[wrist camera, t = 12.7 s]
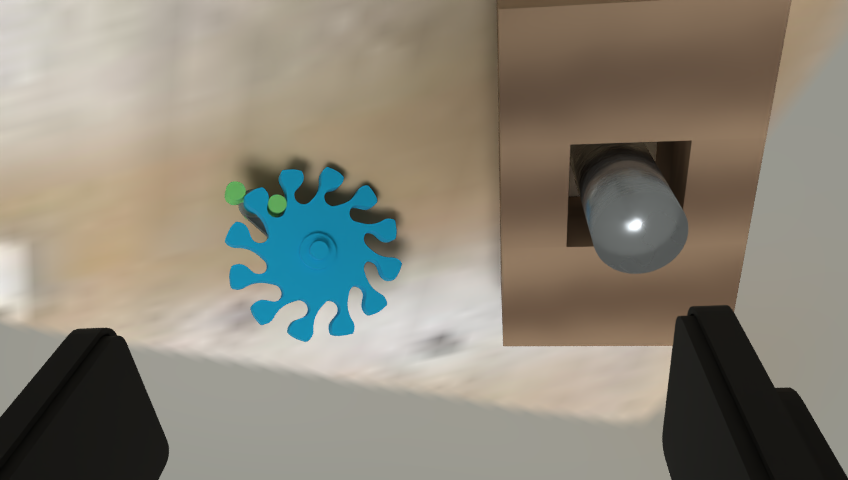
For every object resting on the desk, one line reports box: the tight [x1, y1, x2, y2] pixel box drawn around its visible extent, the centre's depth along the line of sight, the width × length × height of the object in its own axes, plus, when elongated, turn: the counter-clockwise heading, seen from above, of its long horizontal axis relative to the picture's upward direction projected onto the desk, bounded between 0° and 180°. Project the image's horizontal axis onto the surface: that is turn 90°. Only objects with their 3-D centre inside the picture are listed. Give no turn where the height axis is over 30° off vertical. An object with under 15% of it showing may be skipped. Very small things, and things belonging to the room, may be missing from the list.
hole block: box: [497, 0, 791, 346], centre depth 35 cm, size 18×12×6 cm, turn 4°
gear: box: [225, 167, 402, 342], centre depth 40 cm, size 11×6×10 cm
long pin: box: [570, 142, 688, 274], centre depth 33 cm, size 4×4×10 cm
